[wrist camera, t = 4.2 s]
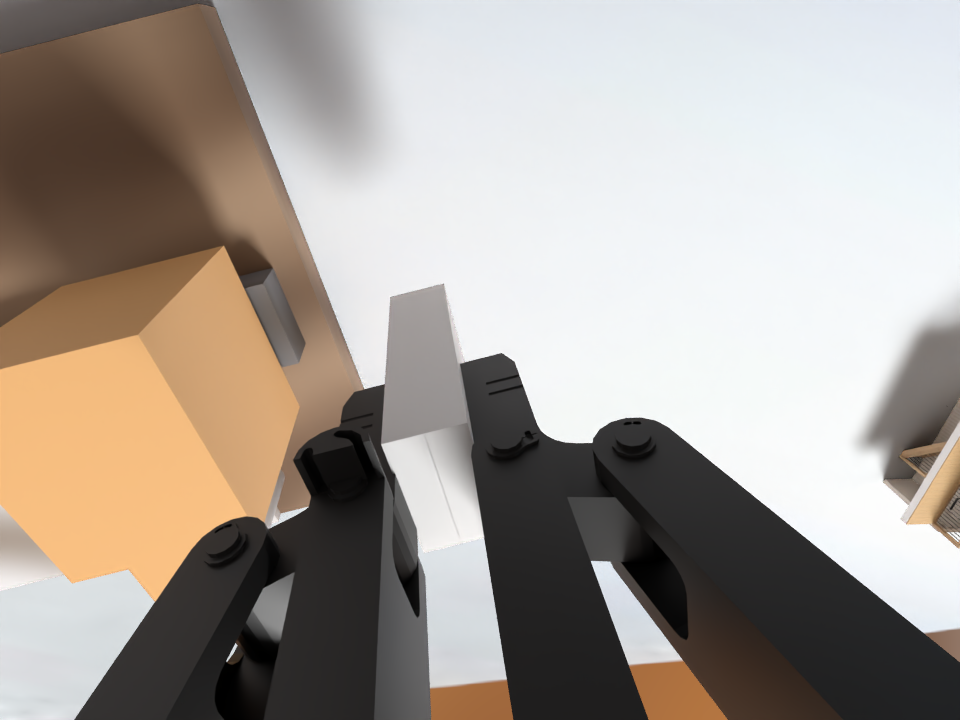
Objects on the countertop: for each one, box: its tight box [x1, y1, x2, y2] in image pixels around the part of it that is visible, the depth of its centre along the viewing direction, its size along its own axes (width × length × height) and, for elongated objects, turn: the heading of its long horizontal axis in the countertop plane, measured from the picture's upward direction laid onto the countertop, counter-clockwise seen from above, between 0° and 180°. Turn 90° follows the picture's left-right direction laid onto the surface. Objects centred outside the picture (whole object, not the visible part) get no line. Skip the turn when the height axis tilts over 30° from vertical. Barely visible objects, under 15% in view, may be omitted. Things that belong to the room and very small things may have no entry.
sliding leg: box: [0, 246, 300, 602], centre depth 16 cm, size 10×5×6 cm, turn 12°
